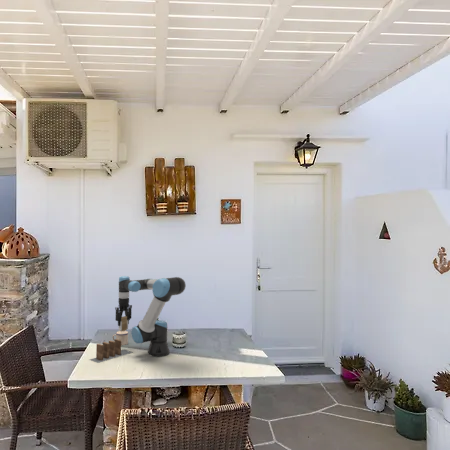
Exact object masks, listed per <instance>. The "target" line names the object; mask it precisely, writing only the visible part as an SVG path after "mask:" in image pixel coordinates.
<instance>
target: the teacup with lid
mask: <svg viewBox="0 0 450 450" xmlns="http://www.w3.org/2000/svg"><path fill="white" fill-rule="evenodd" d="M114 336H115V337H116V338H115V337H114ZM115 339H118V340H121V346H126V345H128V344H129V331H128V330H125V331H120V330H118V331H116V333H115V334H113V335H112V341H114V340H115Z"/></svg>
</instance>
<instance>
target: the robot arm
mask: <svg viewBox="0 0 450 450" xmlns="http://www.w3.org/2000/svg"><path fill="white" fill-rule="evenodd" d="M145 290H147V291H148V290H152V294H153V298H152V300H151V302H150V304H149V306H148V308H147V311H146V312H145V315H144V316H143V318H142V320H140V321H139V322H138V324H137V325H134V326H133V327H132V328H131V338H132V340H133V342H134V343H136V344H143V343H149V342H150V344H149V346H148V349H147V354H148V355H149V356H151V357H164V356H165V357H166V356H168V355H169V354H170V348H169V345H168V323H167V321H164V320H158V319H159V316H160V315H161V313H162V310H163V308H164V306H165V305H166V303H167V302H169V301H170V299H171V298H172V297H173V296H178V295H181V294H182V293H183V292H184V291H185V290H186V281H185V280H184V279H183V278H182V277H179V276H174V277H166V278H165V277H163V278H159V279H158V278H157V279H156V278H155V279H154V278H147V279H146V278H145V279H134V280H131V279H130V277H129V276H126V275H122V276H121V275H120V276H119V278H118V306H115V307H114V309H115V322H116V321H117V327H118V331H122V321H121V318H122V317H123V313H124V315H125V316H127V330H129V324H130V320H131V319H132V308H133V305H132V304H129V303H130V292H131V293H133V292H134V293H137V292H139V291H145Z"/></svg>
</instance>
